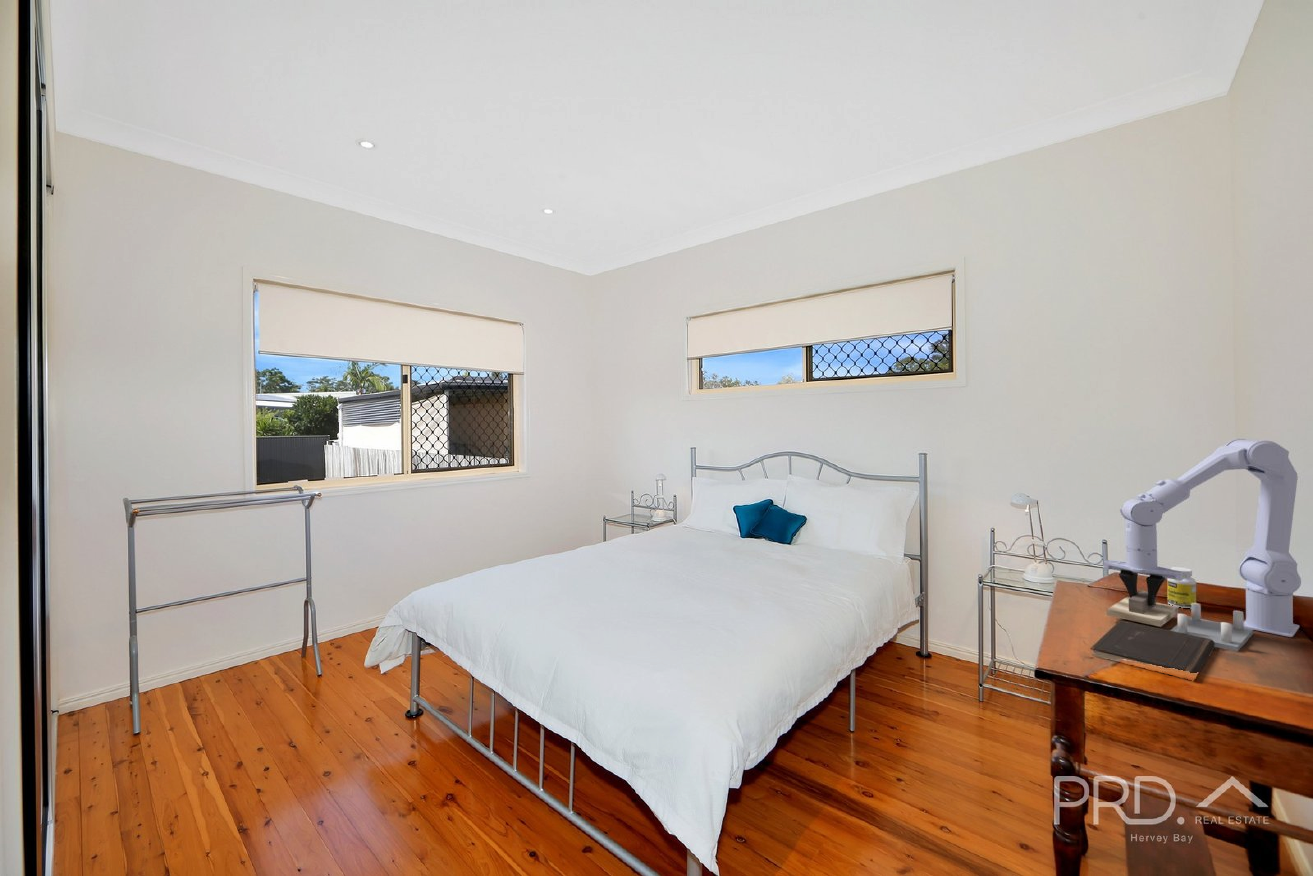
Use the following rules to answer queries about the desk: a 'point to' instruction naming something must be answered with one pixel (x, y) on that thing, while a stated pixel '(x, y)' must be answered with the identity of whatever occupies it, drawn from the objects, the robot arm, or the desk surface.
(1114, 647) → the hardcover book
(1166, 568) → the robot arm
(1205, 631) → the peg stand
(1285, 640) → the desk surface
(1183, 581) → the supplement bottle
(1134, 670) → the desk surface
